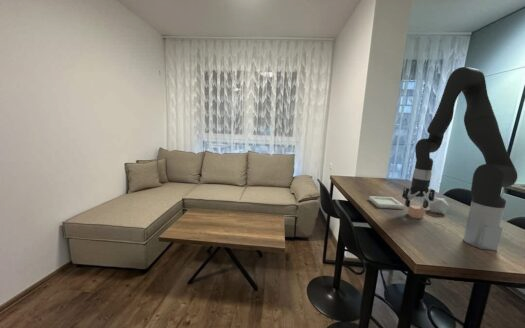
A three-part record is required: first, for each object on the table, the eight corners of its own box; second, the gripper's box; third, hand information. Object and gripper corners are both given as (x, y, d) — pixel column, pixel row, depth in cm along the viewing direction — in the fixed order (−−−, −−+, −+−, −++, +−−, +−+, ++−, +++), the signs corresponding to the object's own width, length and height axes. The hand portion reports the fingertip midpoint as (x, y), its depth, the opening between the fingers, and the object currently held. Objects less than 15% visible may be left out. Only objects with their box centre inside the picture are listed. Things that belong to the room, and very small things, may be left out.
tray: (403, 209, 125) (404, 205, 124) (378, 207, 126) (378, 203, 125) (391, 201, 138) (392, 197, 138) (369, 199, 140) (369, 196, 139)
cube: (422, 218, 113) (424, 209, 112) (412, 217, 113) (414, 208, 113) (417, 214, 118) (418, 205, 117) (407, 214, 118) (408, 205, 117)
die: (444, 212, 124) (434, 195, 128) (456, 210, 116) (445, 192, 119) (431, 217, 124) (420, 201, 127) (442, 215, 115) (431, 198, 119)
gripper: (410, 178, 109) (405, 209, 112) (441, 180, 108) (435, 211, 111) (403, 174, 116) (398, 203, 120) (431, 176, 115) (425, 205, 118)
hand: (415, 207), depth 115 cm, fingers open, 8 cm apart
